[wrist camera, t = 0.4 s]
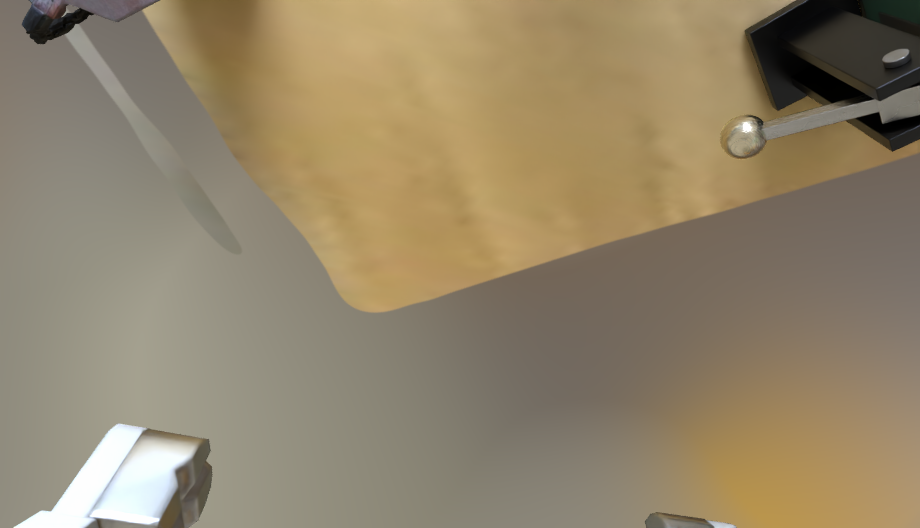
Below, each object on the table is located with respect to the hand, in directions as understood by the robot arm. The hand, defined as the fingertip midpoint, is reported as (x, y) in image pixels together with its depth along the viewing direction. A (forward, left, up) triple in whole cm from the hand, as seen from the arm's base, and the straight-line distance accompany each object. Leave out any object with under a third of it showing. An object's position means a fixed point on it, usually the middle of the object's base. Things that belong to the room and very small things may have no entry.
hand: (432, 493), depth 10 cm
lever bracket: (-3, +28, -46) cm, 54 cm away
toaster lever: (-1, +26, -36) cm, 44 cm away
